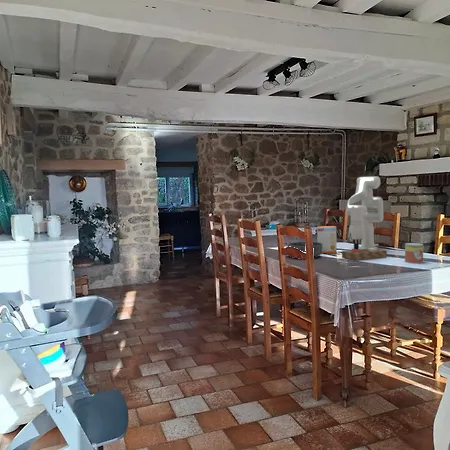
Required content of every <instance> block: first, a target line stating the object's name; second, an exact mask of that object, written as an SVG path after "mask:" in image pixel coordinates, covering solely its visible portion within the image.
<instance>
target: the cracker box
mask: <svg viewBox="0 0 450 450" xmlns="http://www.w3.org/2000/svg"><path fill="white" fill-rule="evenodd" d="M316 231H317V232H316V234H317V235H316V237H317V238H316V239H317V241H316V242H319V243H322V244H323V245H322V252H321V254H320V255H323V254H322V253H326V254H337V250H338V249H337V247H338V246H337V226H335V225H331V226H330V225H328V226H325V225H324V226H322V225H321V226H317V227H316Z"/></svg>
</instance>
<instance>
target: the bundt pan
mask: <svg viewBox="0 0 450 450" xmlns="http://www.w3.org/2000/svg"><path fill="white" fill-rule="evenodd" d="M305 242H306V241H293V242H287V243H286V245H287V248H288V247H289V246H291V247H295V248H298V249H299V250H301V251H303V252H306V251H305ZM312 242H313V248H314V256H315V257H314V258H317V257H319V256H320V255H322V254H321V252H322V245H323V244H322V243H319V242H317V241H312Z"/></svg>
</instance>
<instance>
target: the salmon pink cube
mask: <svg viewBox="0 0 450 450" xmlns="http://www.w3.org/2000/svg"><path fill="white" fill-rule="evenodd" d="M351 250H352V252H361V249H354V248H351Z"/></svg>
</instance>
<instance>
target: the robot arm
mask: <svg viewBox="0 0 450 450" xmlns="http://www.w3.org/2000/svg"><path fill="white" fill-rule="evenodd" d="M380 186H381V178H380V177H379V176H360V177H357V179H356V187H355V193H354V194H353V195H351V197H350V198H348V200H347V203H346V209H345V212H346V215H348V216H350V225H349V228H348V235H347V236H348V239H349V242H352V243H353V249H368V248H375V249H377V248H376V247H379V243H375V241H374V240H375V236H374V235H375V228H374V225H373V224H372V223H381V222H383V221H384V200H383V198H382V197H381V196H374V194H373V193H374V191H373V190H376V189H378V188H379V187H380ZM357 202H361V204H359V205H358V204H355V203H357ZM360 242H361V245H360ZM359 245H360V246H359Z"/></svg>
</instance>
